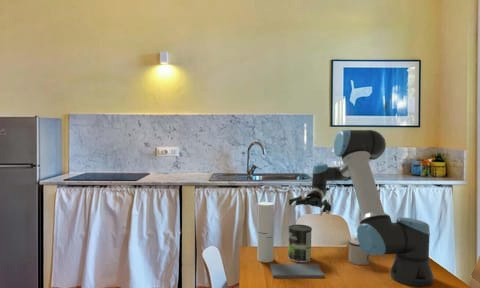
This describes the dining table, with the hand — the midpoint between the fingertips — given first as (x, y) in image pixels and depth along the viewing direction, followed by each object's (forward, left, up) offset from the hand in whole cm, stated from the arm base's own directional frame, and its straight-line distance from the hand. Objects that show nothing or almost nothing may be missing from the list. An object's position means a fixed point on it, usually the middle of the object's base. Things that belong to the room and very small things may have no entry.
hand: (306, 210), depth 170 cm
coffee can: (-1, +6, -21) cm, 22 cm away
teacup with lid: (-21, -10, -21) cm, 31 cm away
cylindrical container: (+9, +18, -21) cm, 29 cm away
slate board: (-9, +20, -21) cm, 30 cm away
